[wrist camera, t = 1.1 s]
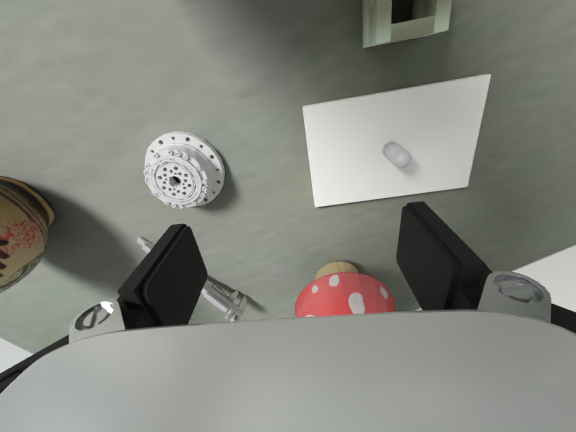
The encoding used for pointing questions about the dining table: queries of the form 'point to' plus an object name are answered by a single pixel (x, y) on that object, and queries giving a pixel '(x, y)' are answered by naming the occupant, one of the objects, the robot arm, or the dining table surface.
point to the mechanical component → (183, 170)
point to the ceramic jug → (21, 230)
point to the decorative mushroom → (343, 293)
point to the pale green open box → (425, 21)
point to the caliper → (213, 292)
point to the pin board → (395, 141)
